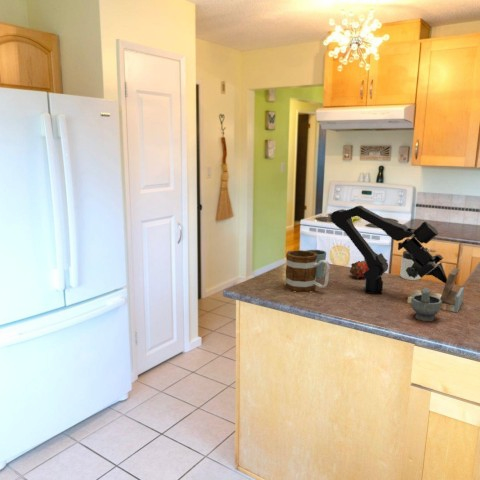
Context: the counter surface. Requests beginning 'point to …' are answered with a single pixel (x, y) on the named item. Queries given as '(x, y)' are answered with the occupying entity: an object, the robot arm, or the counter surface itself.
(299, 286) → the mug
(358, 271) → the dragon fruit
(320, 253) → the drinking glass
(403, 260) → the jar
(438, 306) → the mortar and pestle
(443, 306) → the board
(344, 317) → the counter surface
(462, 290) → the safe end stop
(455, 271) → the bookend block
